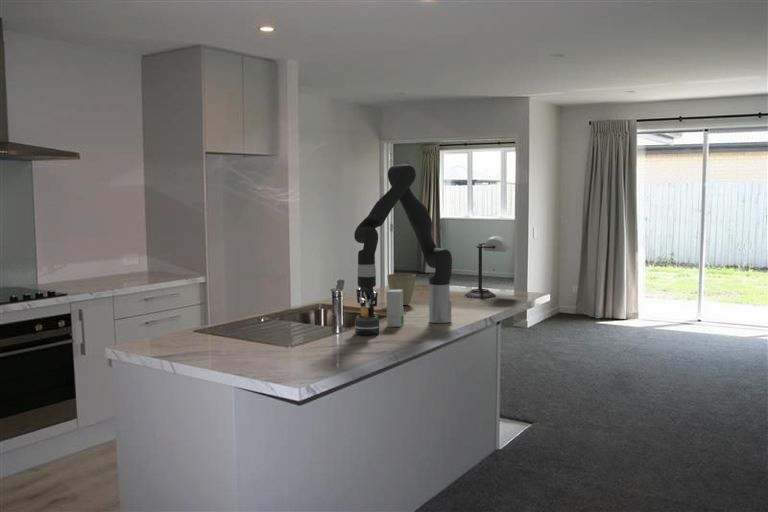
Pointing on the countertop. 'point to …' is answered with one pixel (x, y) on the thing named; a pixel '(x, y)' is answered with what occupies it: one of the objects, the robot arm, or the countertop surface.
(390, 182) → the robot arm
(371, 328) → the barrel
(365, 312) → the wooden block
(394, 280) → the plant pot
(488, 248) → the lamp
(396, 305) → the skincare box
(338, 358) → the countertop surface
